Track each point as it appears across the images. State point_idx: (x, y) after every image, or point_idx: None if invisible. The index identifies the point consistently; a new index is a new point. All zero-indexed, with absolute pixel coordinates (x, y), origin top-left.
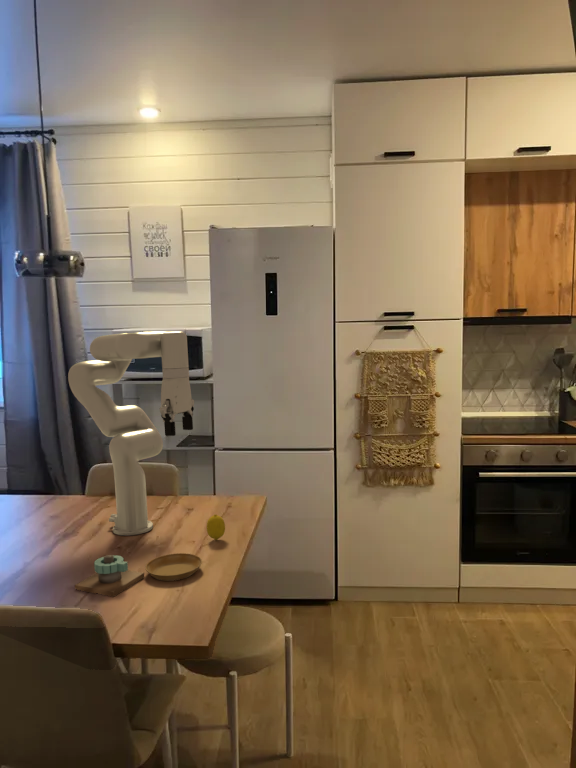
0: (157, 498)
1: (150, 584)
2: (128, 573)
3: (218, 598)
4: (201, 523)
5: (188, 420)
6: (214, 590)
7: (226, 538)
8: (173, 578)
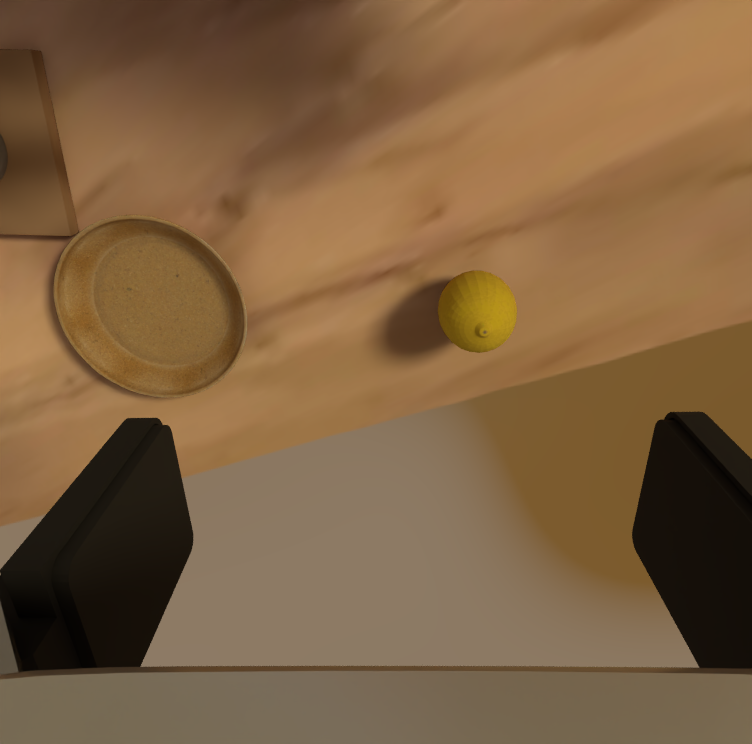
0: None
1: (52, 284)
2: (36, 183)
3: None
4: (666, 117)
5: (711, 623)
6: None
7: None
8: (97, 346)
